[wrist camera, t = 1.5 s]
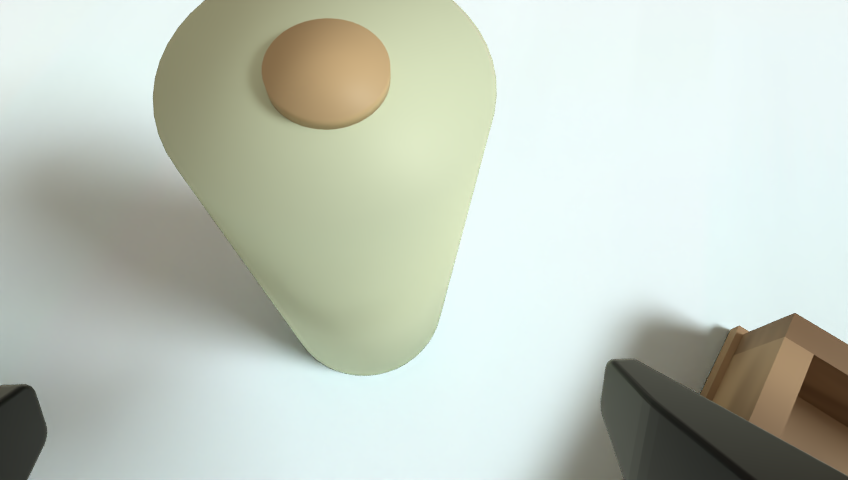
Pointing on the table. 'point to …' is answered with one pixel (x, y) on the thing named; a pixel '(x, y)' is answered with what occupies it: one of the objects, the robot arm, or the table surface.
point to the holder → (787, 385)
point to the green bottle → (334, 157)
